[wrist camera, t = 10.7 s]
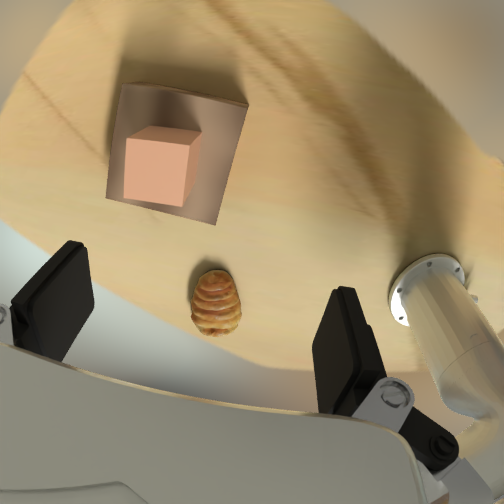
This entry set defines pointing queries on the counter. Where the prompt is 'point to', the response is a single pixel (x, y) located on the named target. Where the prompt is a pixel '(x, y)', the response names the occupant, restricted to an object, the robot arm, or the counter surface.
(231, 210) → the counter surface
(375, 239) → the counter surface
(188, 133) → the terracotta block
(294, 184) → the counter surface
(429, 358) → the robot arm
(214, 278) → the pastry
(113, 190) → the taupe streaked block
